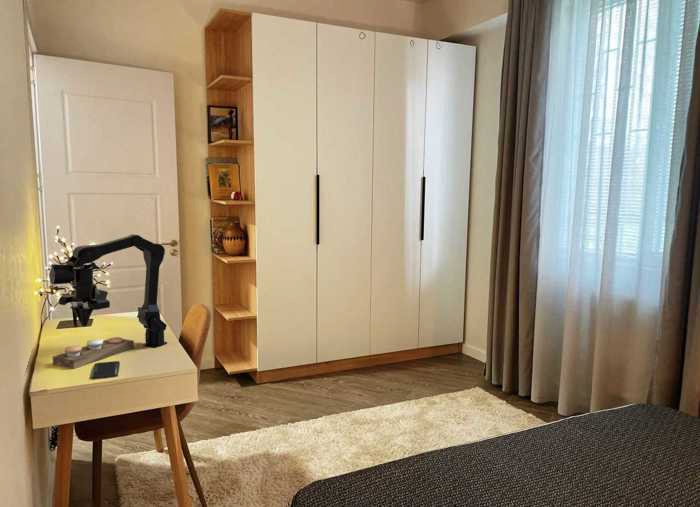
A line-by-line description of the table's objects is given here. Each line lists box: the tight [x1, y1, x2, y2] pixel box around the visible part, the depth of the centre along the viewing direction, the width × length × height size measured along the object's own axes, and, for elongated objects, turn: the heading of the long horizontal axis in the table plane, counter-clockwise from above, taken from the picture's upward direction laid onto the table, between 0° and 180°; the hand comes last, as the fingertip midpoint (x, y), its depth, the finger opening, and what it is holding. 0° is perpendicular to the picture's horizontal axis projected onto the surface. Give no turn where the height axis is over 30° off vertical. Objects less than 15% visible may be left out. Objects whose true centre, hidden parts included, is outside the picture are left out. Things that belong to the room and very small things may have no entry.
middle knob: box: [86, 338, 104, 351], centre depth 189 cm, size 5×5×4 cm
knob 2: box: [106, 336, 124, 344], centre depth 197 cm, size 5×5×4 cm
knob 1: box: [64, 345, 83, 358], centre depth 180 cm, size 5×5×4 cm
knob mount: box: [52, 338, 135, 370], centre depth 189 cm, size 10×26×3 cm, turn 157°
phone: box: [90, 360, 120, 380], centre depth 174 cm, size 8×1×15 cm
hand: (84, 326), depth 185 cm, fingers closed
